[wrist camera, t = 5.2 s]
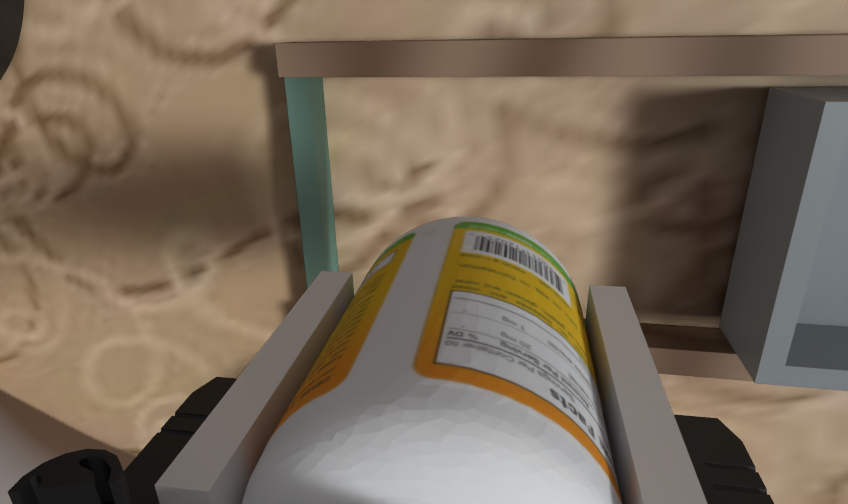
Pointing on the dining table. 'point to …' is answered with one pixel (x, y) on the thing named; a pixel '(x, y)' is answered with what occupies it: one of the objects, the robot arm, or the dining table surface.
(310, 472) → the supplement bottle
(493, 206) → the dining table surface
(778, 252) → the box
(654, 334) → the bay
